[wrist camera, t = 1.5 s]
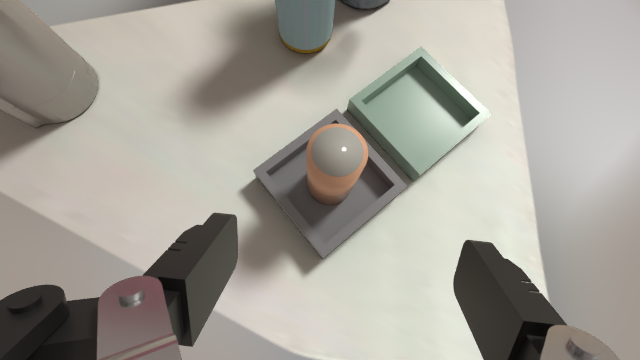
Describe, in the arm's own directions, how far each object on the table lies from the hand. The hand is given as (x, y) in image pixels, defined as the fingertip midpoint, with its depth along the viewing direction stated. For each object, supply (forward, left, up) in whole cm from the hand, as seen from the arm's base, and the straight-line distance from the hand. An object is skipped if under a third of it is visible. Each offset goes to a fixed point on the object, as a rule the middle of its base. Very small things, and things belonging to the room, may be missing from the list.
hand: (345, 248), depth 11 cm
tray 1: (+6, +6, -24) cm, 25 cm away
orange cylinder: (+6, +6, -23) cm, 25 cm away
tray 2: (+20, +6, -24) cm, 32 cm away
